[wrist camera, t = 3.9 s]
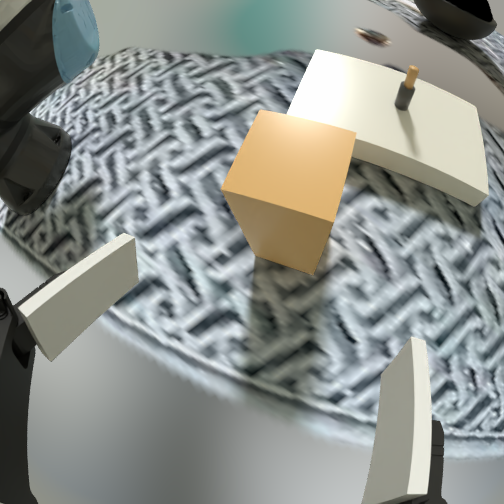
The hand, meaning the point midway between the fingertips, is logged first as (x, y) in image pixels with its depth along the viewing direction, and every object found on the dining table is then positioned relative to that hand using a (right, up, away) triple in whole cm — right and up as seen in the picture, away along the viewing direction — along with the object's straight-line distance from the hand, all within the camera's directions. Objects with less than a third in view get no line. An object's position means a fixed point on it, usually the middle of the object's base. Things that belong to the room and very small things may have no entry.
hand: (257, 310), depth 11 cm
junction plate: (+16, +17, +14) cm, 27 cm away
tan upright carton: (+3, +4, +12) cm, 13 cm away
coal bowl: (+41, +50, +20) cm, 68 cm away
